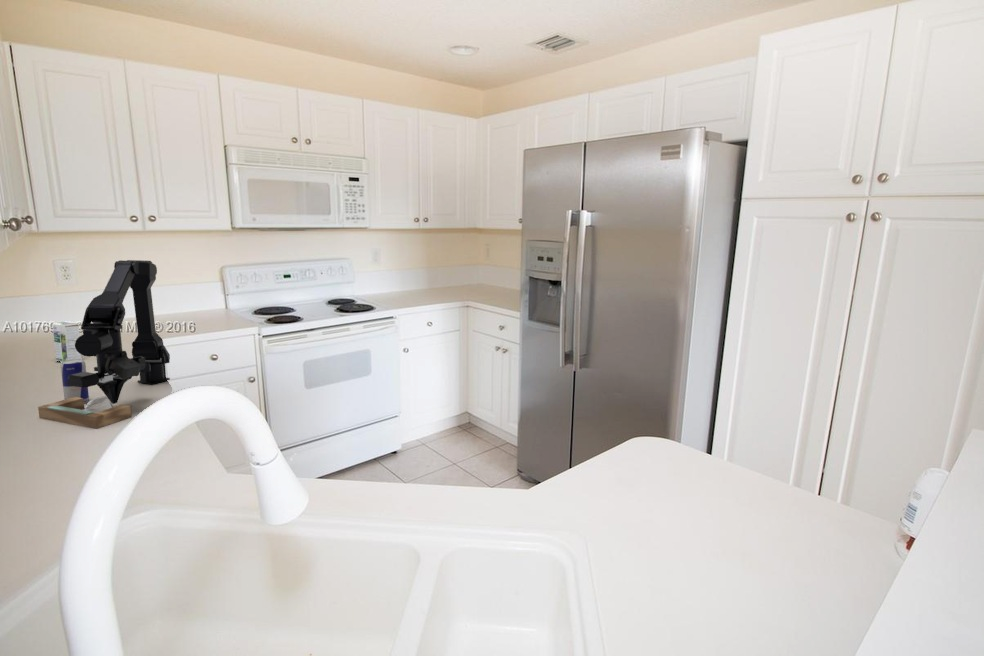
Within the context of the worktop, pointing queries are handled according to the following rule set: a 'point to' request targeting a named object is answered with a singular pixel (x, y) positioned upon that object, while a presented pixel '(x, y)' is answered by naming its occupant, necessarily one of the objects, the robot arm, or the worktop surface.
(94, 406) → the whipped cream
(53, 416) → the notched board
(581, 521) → the worktop surface
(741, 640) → the worktop surface
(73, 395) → the energy drink
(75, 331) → the syrup box
